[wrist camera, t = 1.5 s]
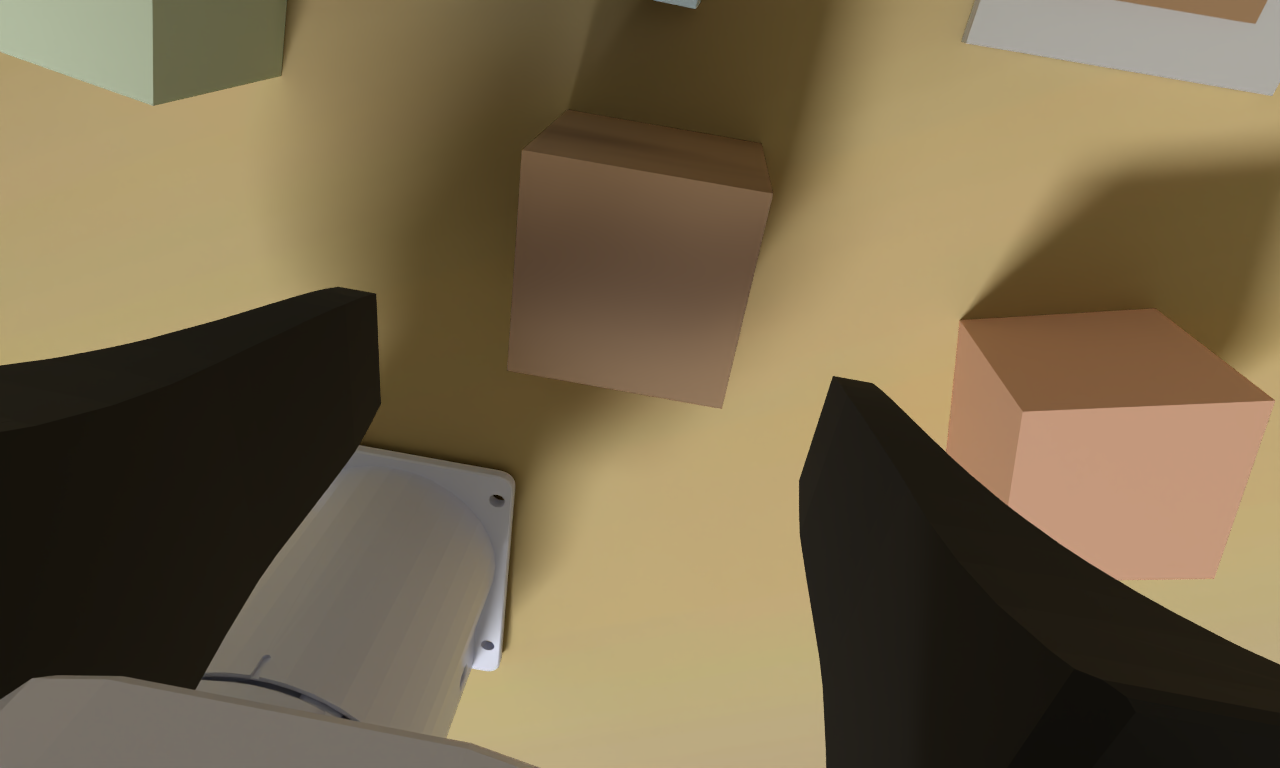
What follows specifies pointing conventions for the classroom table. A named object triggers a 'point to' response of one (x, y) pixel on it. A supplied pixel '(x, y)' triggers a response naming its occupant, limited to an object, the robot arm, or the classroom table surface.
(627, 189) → the walnut cube
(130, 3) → the sage cube
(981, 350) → the terracotta cube
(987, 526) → the robot arm
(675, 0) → the base block
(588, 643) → the classroom table surface
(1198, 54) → the grey square frame
